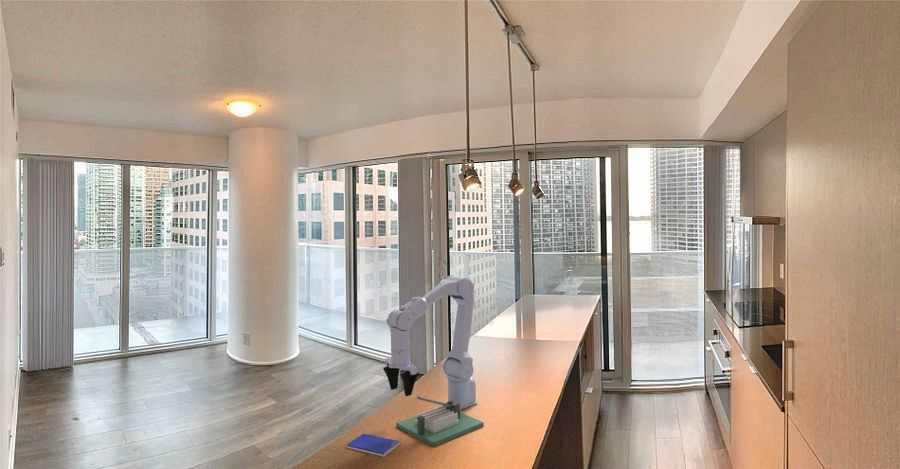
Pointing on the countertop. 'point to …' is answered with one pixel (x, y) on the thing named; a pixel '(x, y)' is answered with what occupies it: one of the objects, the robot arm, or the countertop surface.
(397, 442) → the hard drive
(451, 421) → the heatsink board
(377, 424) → the countertop surface
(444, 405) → the long grey plank
